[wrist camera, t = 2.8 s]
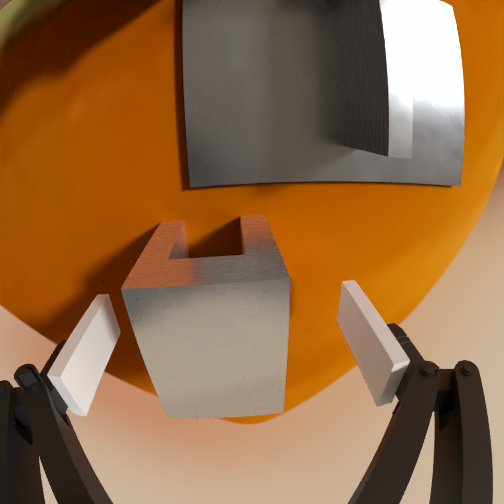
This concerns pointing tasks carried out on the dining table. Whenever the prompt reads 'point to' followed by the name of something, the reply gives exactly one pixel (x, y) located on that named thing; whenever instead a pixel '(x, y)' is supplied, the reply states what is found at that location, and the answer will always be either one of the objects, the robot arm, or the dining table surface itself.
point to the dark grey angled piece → (322, 91)
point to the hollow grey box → (212, 323)
